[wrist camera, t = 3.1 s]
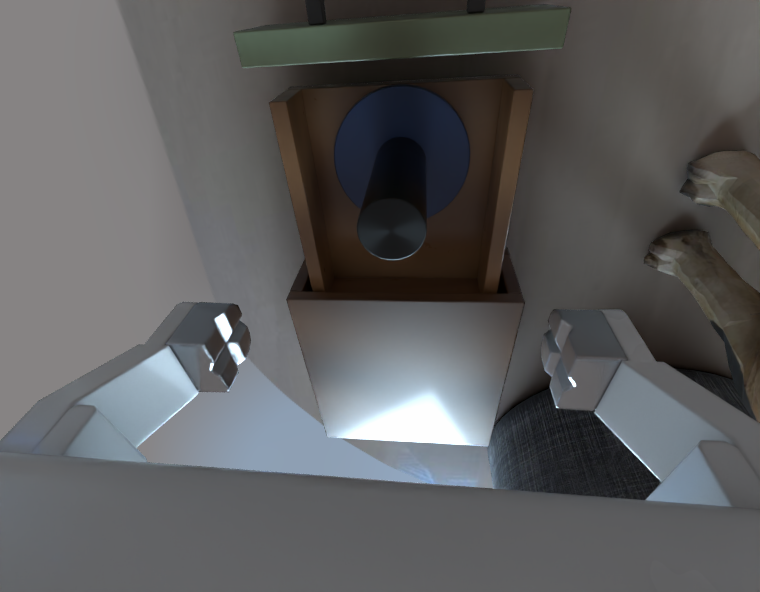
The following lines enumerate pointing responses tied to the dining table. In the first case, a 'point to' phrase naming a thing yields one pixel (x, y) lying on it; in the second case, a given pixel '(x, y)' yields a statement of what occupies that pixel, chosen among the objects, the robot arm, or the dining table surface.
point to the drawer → (466, 94)
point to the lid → (400, 165)
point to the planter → (576, 448)
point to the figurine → (721, 263)
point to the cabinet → (408, 359)
